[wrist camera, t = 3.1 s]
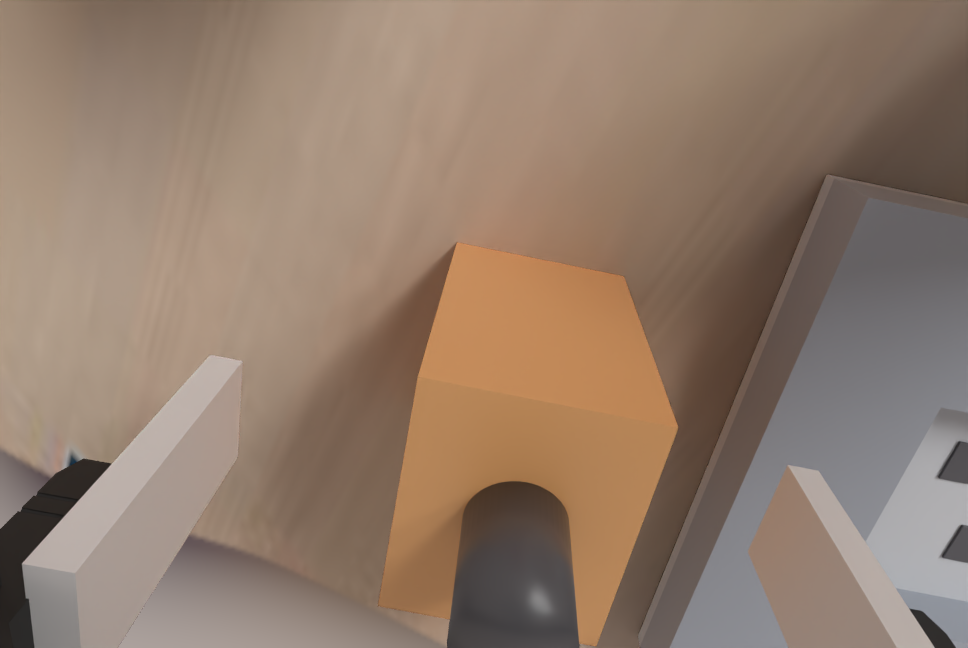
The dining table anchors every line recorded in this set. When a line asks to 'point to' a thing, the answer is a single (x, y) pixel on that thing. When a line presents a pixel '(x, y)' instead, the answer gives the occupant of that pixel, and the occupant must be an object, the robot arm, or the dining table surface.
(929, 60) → the dining table surface
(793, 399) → the socket plate
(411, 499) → the plug
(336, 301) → the dining table surface
